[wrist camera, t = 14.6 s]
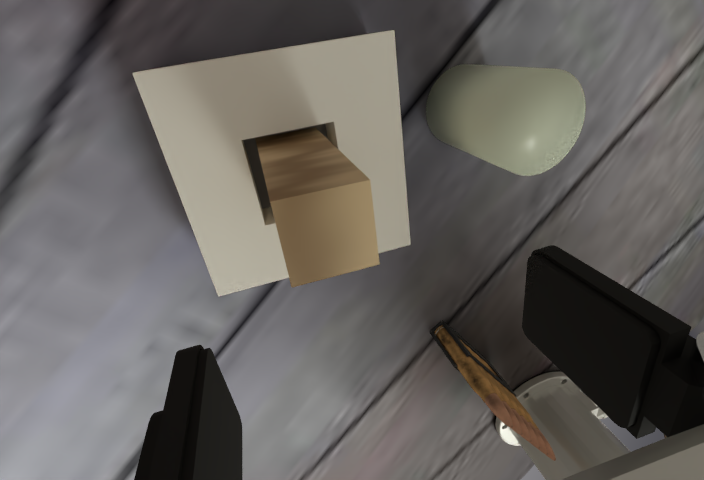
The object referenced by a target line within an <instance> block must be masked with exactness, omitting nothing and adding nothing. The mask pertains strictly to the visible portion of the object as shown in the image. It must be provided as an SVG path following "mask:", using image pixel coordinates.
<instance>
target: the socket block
mask: <svg viewBox="0 0 704 480" xmlns="http://www.w3.org/2000/svg"><path fill="white" fill-rule="evenodd" d="M132 74H133V77H134V79H135V82H136V85H137V87H138V90H139V92H140V95H141V98H142V100H143V103H144V105H145V108H146V110H147V113H148V116H149V118H150V121H151V123H152V126H153V129H154V131H155V134H156V136H157V139H158V141H159V144H160V147H161V149H162V152H163V154H164V157H165V160H166V162H167V165H168V167H169V170H170V172H171V175H172V178H173V180H174V183H175V185H176V188H177V191H178V193H179V196H180V198H181V201H182V203H183V206H184V209H185V211H186V214H187V216H188V219H189V222H190V224H191V227H192V229H193V232H194V235H195V237H196V240H197V242H198V245H199V247H200V250H201V253H202V255H203V258H204V260H205V263H206V266H207V268H208V271H209V273H210V276H211V278H212V281H213V284H214V286H215V289H216V291H217V294H218V297H219V296H222V295H226V294H230V293H233V292H237V291H241V290H245V289H248V288H252V287H256V286H259V285H263V284H267V283H271V282H274V281H278V280H282V279H285V278H289V275H288V271H287V267H286V263H285V259H284V255H283V251H282V247H281V243H280V239H279V235H278V231H277V227H276V223H275V219H274V215H273V211H272V207H271V203H270V199H269V195H268V191H267V187H266V182H265V178H264V174H263V169H262V165H261V161H260V157H259V152H258V148H257V144H256V140H255V138H260V137H266V136H271V135H276V134H281V133H287V132H292V131H297V130H303V129H308V128H313V127H315V128H316V129H317V130H318V131H320V132H321V133H322V134H323V135H324V136H325V137H326V138H327V139H328V140H329V141H330V142H331V143H332V144H333V145H334V146H335V147H336V148H337V149H338V150H340V151H341V152H342V153H343V154H344V155H345V156H346V157H347V158H348V159H349V160H350V161H351V162H352V163H353V164H354V165H355V166H356V167H357V168H358V169H359V170H361V171H362V172H363V173H364V174H365V175H366V176H367V177H368V178H369V179H370V182H371V191H372V200H373V209H374V218H375V227H376V236H377V245H378V253H382V252H385V251H389V250H393V249H397V248H400V247H404V246H408V245H411V242H410V229H409V216H408V203H407V190H406V177H405V163H404V150H403V137H402V124H401V111H400V98H399V85H398V72H397V59H396V46H395V32H394V30H391V31H383V32H375V33H368V34H362V35H355V36H349V37H343V38H337V39H331V40H325V41H319V42H313V43H306V44H300V45H294V46H288V47H282V48H276V49H270V50H263V51H257V52H251V53H245V54H239V55H233V56H227V57H221V58H214V59H208V60H202V61H196V62H190V63H184V64H178V65H171V66H165V67H159V68H153V69H148V70H143V71H139V72H134V73H132Z"/></svg>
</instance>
